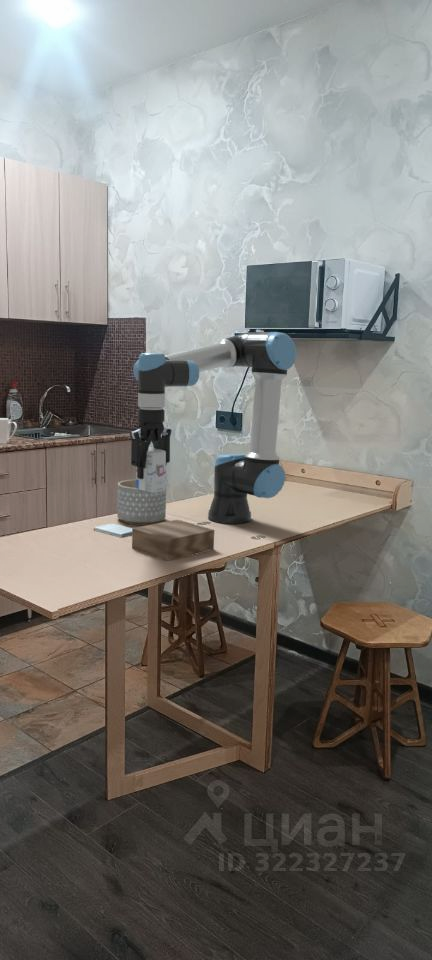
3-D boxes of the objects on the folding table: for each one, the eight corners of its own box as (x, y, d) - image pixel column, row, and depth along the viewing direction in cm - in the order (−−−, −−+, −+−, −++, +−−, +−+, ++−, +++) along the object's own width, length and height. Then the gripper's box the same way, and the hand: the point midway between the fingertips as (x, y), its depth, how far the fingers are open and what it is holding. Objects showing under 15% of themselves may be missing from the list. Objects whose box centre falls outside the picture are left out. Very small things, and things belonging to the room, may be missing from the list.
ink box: (134, 488, 204) (134, 447, 202) (147, 486, 208) (148, 446, 206) (152, 493, 198) (153, 451, 196) (166, 490, 202) (167, 450, 200)
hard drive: (139, 529, 223) (112, 522, 231) (121, 534, 217) (93, 526, 224) (139, 534, 224) (112, 527, 231) (121, 539, 217) (93, 531, 225)
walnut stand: (177, 538, 219) (177, 519, 218) (213, 549, 208) (214, 530, 207) (132, 547, 206) (132, 528, 205) (168, 560, 195) (168, 539, 194)
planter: (112, 515, 245) (113, 480, 243) (157, 513, 251) (158, 478, 248) (123, 527, 230) (124, 489, 228) (171, 524, 236) (172, 487, 233)
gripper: (167, 405, 207) (166, 482, 212) (117, 408, 195) (117, 490, 199) (183, 408, 202) (182, 486, 207) (134, 410, 190) (133, 494, 194)
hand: (150, 488), depth 203 cm, fingers closed on ink box, 5 cm apart
